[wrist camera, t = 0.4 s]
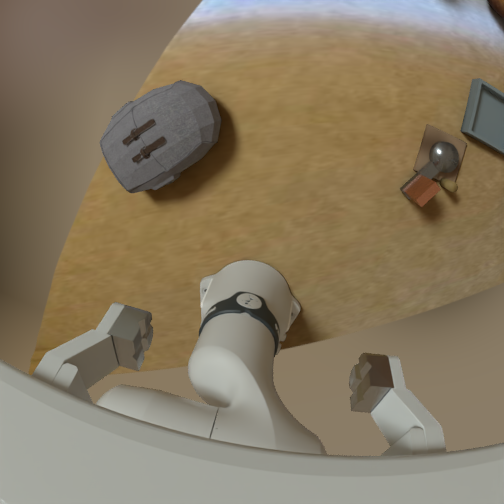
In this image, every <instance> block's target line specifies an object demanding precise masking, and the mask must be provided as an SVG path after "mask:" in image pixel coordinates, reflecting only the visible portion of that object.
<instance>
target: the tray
mask: <svg viewBox="0 0 504 504" xmlns="http://www.w3.org/2000/svg"><path fill="white" fill-rule="evenodd" d="M461 132H463V133H465V134H467V135H469V136H471V137H472V138H474V139H476V140H478V141H480V142H482V143H483V144H485V145H487V146H489V147H490V148H492V149H494V150H495V151H497V152H499V153H500V154H503V155H504V93H502V92H501V91H499V90H498V89H496V88H495V87H493V86H491V85H490V84H488V83H487V82H485V81H483V80H482V79H480V78H479V79H472V84H471V89H470V94H469V98H468V103H467V107H466V111H465V116H464V120H463V124H462V128H461Z"/></svg>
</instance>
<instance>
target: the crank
mask: <svg viewBox="0 0 504 504" xmlns="http://www.w3.org/2000/svg"><path fill="white" fill-rule="evenodd" d="M429 159H430V161H429V162H428V163H427V164H426V165H425V166H424V167H423V168H422V169H420V170H419V171H418V172H417V173H416V174H415V175H414V176H413V177H412V178H411V179H410V180H409V181H408V182H407V183H405V184H404V185H403V186H402V187H401V188H400V190H401V191H402V192H403V194H404V195H405V196H406V197H407V198H408V199H412V200H413V201H414V202H415V203H417V204H418V205H419V206H421V207H422V206H424V205H425V204H426V203H427V202H428V201H429V200H430V199H431V198H432V197H433V196H434V195H435V194H436V193H437V192H439V191H440V190H441V189H440V188H439V186H438V185H437V183H436V182H435V181H433V180H431V179H432V178H433V177H434V176H435V175H436V174H437V173H438V172H439V171H441V172H444V173H449V172H452V171H453V170H454V169H455V168H456V167H457V165H458V162H459V154H458V151H457V149H456V147H455V146H454V145H453V144H451V143H449V142H445V141H438V142H436V143H435V144H433V145H432V147H431V149H430V152H429Z"/></svg>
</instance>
